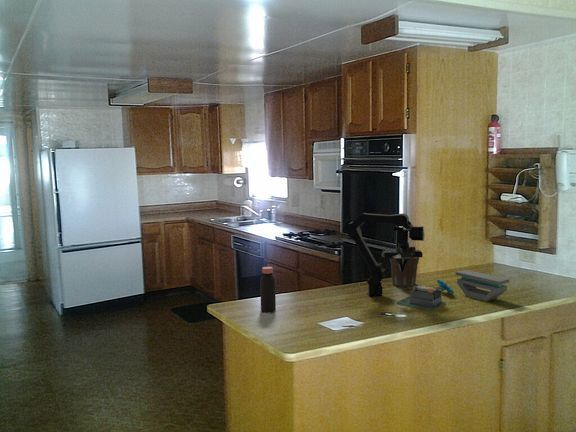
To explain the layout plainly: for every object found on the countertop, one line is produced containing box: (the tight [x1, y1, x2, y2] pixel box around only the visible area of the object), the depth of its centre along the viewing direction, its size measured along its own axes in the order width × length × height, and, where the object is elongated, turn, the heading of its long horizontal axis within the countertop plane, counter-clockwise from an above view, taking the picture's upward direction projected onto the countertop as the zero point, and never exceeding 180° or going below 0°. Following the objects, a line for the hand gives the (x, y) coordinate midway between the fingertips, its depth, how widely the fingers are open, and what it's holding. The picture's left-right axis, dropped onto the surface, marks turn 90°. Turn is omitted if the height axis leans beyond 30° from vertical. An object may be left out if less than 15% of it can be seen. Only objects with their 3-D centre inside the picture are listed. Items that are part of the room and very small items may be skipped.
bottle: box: [259, 266, 277, 313], centre depth 243 cm, size 7×7×20 cm
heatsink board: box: [396, 283, 446, 311], centre depth 251 cm, size 18×14×9 cm
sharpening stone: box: [455, 269, 510, 302], centre depth 260 cm, size 25×8×11 cm, turn 32°
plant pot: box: [389, 256, 420, 288], centre depth 287 cm, size 16×16×16 cm
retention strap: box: [416, 285, 437, 292], centre depth 249 cm, size 10×3×1 cm, turn 50°
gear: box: [436, 279, 455, 295], centre depth 268 cm, size 11×6×10 cm
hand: (401, 271), depth 261 cm, fingers closed
